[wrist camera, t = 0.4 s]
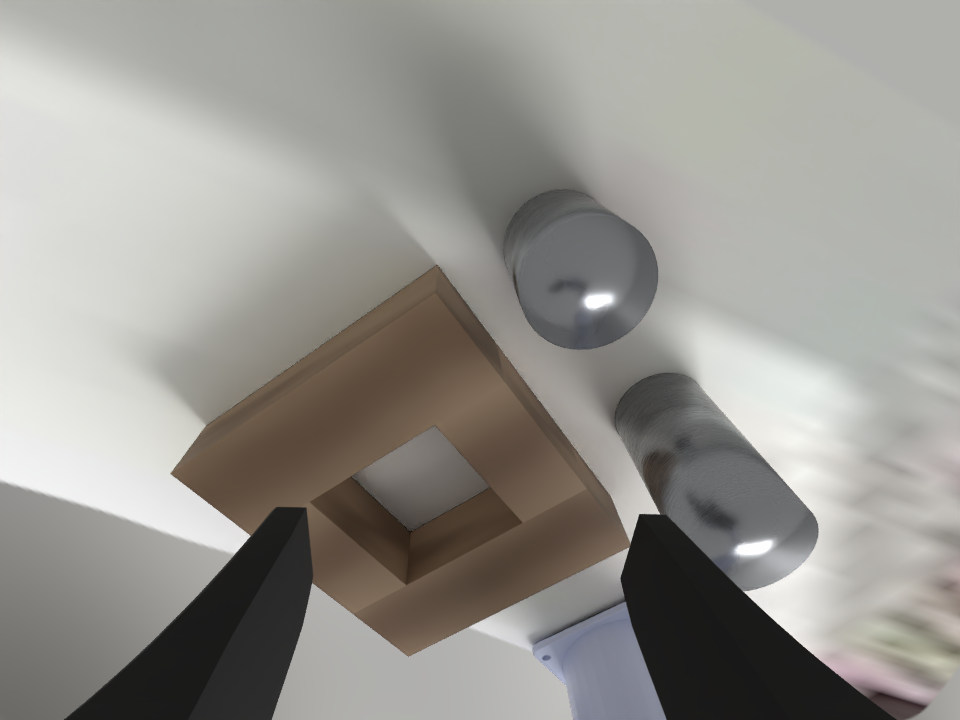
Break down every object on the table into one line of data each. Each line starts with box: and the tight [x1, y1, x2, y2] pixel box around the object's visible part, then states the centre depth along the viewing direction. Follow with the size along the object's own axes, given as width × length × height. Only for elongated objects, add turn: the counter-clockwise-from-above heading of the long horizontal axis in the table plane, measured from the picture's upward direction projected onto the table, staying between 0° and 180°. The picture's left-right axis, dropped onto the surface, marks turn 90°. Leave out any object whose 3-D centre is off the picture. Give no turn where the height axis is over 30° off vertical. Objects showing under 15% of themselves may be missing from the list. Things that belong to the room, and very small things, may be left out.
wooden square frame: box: [171, 265, 631, 656], centre depth 21 cm, size 14×12×3 cm
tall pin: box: [615, 373, 818, 591], centre depth 19 cm, size 4×4×8 cm
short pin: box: [504, 190, 658, 350], centre depth 16 cm, size 4×4×4 cm
